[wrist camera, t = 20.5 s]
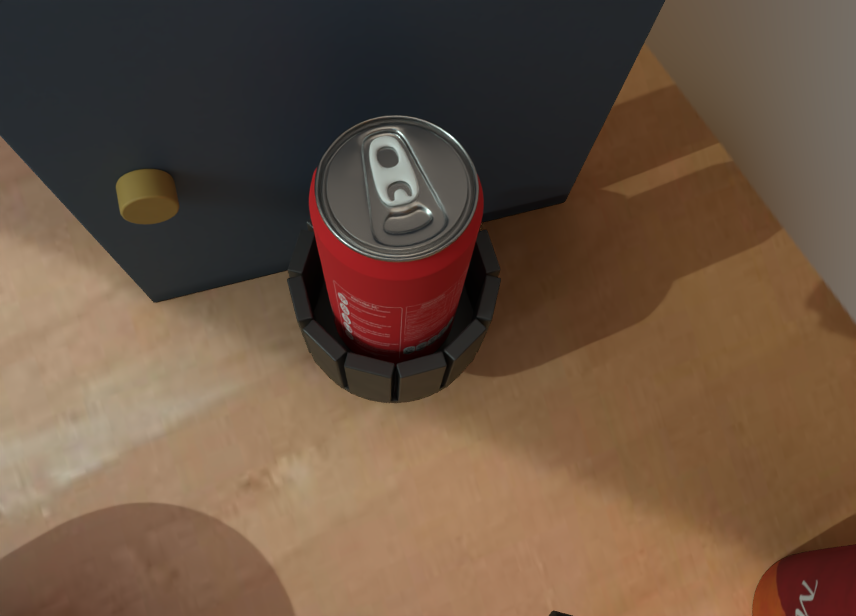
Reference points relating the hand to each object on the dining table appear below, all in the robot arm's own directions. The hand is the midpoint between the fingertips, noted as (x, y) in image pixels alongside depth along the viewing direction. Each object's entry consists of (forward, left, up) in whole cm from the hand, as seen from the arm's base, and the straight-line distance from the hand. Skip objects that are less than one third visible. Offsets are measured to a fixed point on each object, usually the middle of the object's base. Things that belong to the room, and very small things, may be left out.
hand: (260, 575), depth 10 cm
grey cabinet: (-5, -15, -24) cm, 29 cm away
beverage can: (-5, -9, -20) cm, 22 cm away
